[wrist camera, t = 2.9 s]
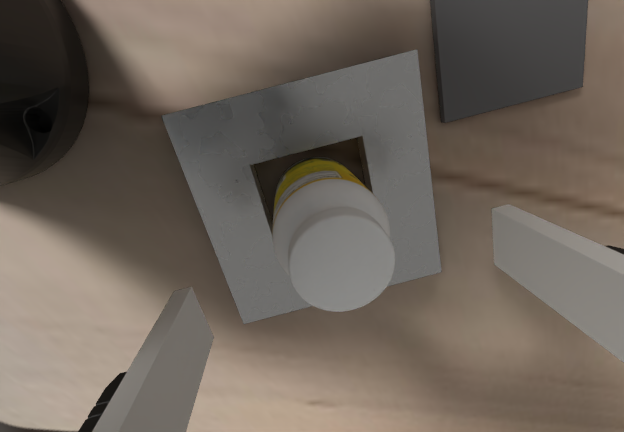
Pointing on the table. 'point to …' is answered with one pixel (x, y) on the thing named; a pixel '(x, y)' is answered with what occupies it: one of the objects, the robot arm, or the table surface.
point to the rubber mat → (505, 52)
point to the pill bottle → (331, 236)
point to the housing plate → (300, 137)
